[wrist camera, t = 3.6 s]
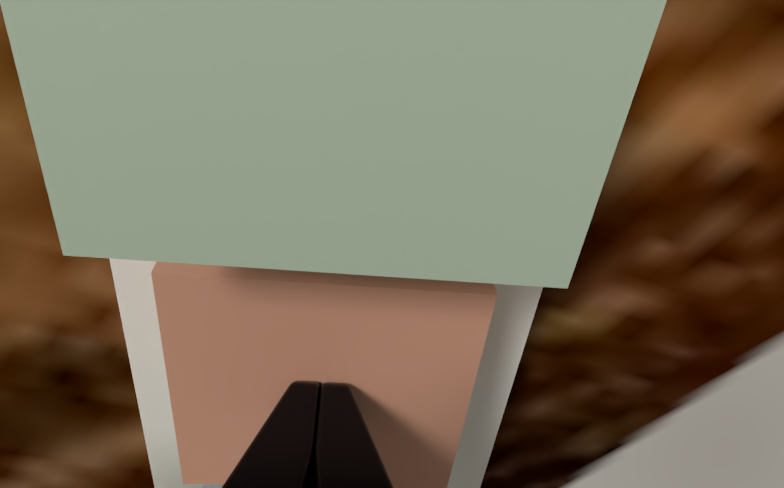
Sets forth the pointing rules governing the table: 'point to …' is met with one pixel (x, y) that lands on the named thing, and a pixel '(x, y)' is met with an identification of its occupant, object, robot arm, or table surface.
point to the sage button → (331, 129)
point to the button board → (154, 397)
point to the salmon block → (319, 359)
